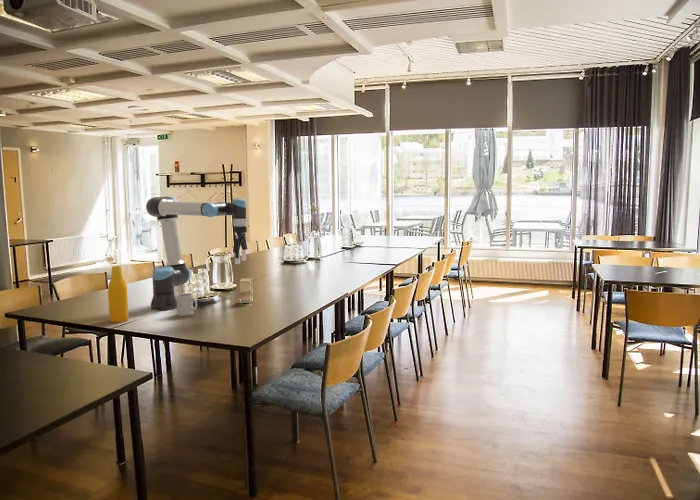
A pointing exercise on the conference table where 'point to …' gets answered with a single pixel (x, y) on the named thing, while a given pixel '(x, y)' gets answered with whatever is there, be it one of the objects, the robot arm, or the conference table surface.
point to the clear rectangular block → (246, 290)
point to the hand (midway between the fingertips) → (240, 262)
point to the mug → (185, 304)
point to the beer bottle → (117, 297)
